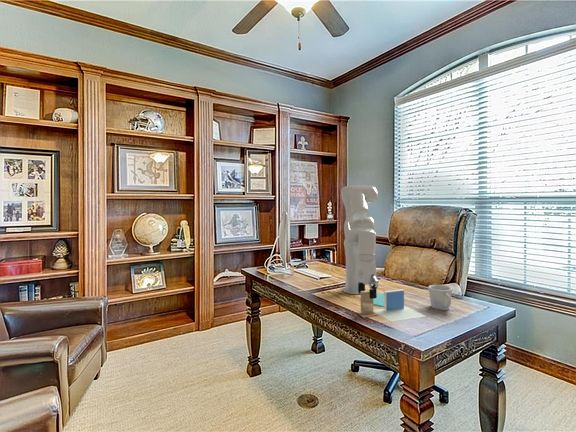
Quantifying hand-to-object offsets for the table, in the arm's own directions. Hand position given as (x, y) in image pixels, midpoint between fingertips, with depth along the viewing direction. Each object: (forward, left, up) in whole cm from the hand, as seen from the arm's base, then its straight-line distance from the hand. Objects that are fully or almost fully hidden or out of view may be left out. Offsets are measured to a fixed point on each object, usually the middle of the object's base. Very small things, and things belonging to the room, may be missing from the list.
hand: (367, 295), depth 146 cm
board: (+3, +14, -9) cm, 17 cm away
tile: (-2, +15, -9) cm, 18 cm away
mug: (+4, +37, -10) cm, 39 cm away
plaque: (-16, +17, -10) cm, 25 cm away
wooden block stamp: (-1, 0, -10) cm, 10 cm away
